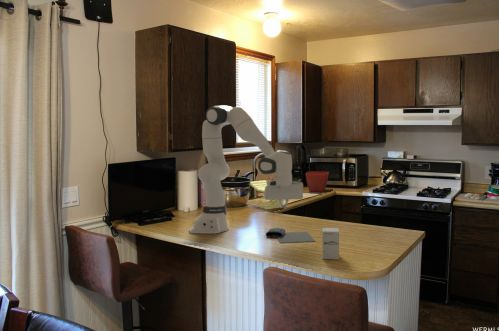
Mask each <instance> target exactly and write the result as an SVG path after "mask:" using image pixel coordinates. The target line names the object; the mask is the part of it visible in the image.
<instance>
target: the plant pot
mask: <svg viewBox="0 0 499 331" xmlns="http://www.w3.org/2000/svg"><path fill="white" fill-rule="evenodd" d="M329 173H330V172H329V171H307V172H306V173H305V179H306V180H305V181H306V184H307V188H308V191H309V193H325V192H326V188H327V185H328V184H327V183H328V178H329Z"/></svg>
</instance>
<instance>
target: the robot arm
mask: <svg viewBox="0 0 499 331" xmlns="http://www.w3.org/2000/svg"><path fill="white" fill-rule="evenodd" d="M228 126H232V128H233V129H234V131H235V133H236V134H237V135H238V137H239V138H240V139H241V140H242V141H245V142H248V143H251V144H252V145H255V146H256V147H258V149H259V150H260V152H261V153H262V154H263V155H264V156H263V157H261V158H260V159H259V160H258V163H257V167H258V171H259V172H260V173H261V174H263V175H265V176H266V175H274V177H273V178H270V179H267V180H266V181H267V186H266V187H265V191H264V192H263V193H264V194H263V195H264V196H263V198H264V199H265V200H267V201H270V200H278V201H279V203H280V208H281V209H282V208H283V209H286V208H287V205H288V203H289V202H290V200H302V199H303V197H304V196H303V194H304V192H303V189H304V183H303V182H302V181H293V174H292V170H293V158H292V154H291V153H290V152H289V151H288V150H285V149H284V150H282V149H278V150H277V151H276V150H275V149H274V147H273V146H272V144H271V142H269V140H268V139H267V137H266V136H265V135H264V134H263V133H262V131H261V130H260V129H259V127H258V126H257V125H256V123H255V122H254V120H253V118H252V117H251V115H250V114H249V113H248V112H247V111H246V109H245V108H244V107H242V106H232V105H225V104H223V105H222V104H221V105H213V106H209V107H208V108H207V110H206V112H205V120H204V121H203V122H202V128H201V138H202V139H201V140H202V149H203V150H202V151H203V152H202V153H203V154H204V155H205V157H206V159H207V162H208V163H206V164H204V165H202V166H201V167H200V168H199V169H198V172H197V176H198V179H199V181H201V183H202V185H203V188H204V193H205V205H202V207H201V209H202V213H200V214H199V215H198V216H197V217H196V218H195V219H194V221H193V225H192V226H191V227H190V228H189V233H191V234H220V233H223V232H227V231H229V230H230V228H229V225H228V221H227V205H226V193H225V190H224V189H223V186H222V183H221V181H223V180H225V179H226V178H227V177H228V176H229V175H230V172H231V168H230V165H228V163H227V161H226V158H225V154H224V148H223V138H222V128H223V127H225V128H227V127H228ZM282 199H284V203H283V204H281V202H280V201H282Z"/></svg>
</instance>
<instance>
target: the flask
mask: <svg viewBox="0 0 499 331" xmlns="http://www.w3.org/2000/svg"><path fill="white" fill-rule="evenodd" d="M284 233H286V229H284V228H280V227H279V228H278V227H276V228H275V227H274V228H270V229H268V230H267V232H265V237H268V238H269V237H271V238H272V237H273V238H277V237H282V236H283V235H284Z"/></svg>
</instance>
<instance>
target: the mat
mask: <svg viewBox="0 0 499 331" xmlns="http://www.w3.org/2000/svg"><path fill="white" fill-rule="evenodd" d="M276 239H277V240H278V242H279V244H289V243H290V244H291V243H296V244H297V243H312V242H313V243H314V242H316V240H315V239H314V238H313V236H312V235H310V233H309V232H308V231H296V232H295V231H294V232H293V231H292V232H291V231H290V232H285V233H284V235H283V236H282V237H276Z"/></svg>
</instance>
